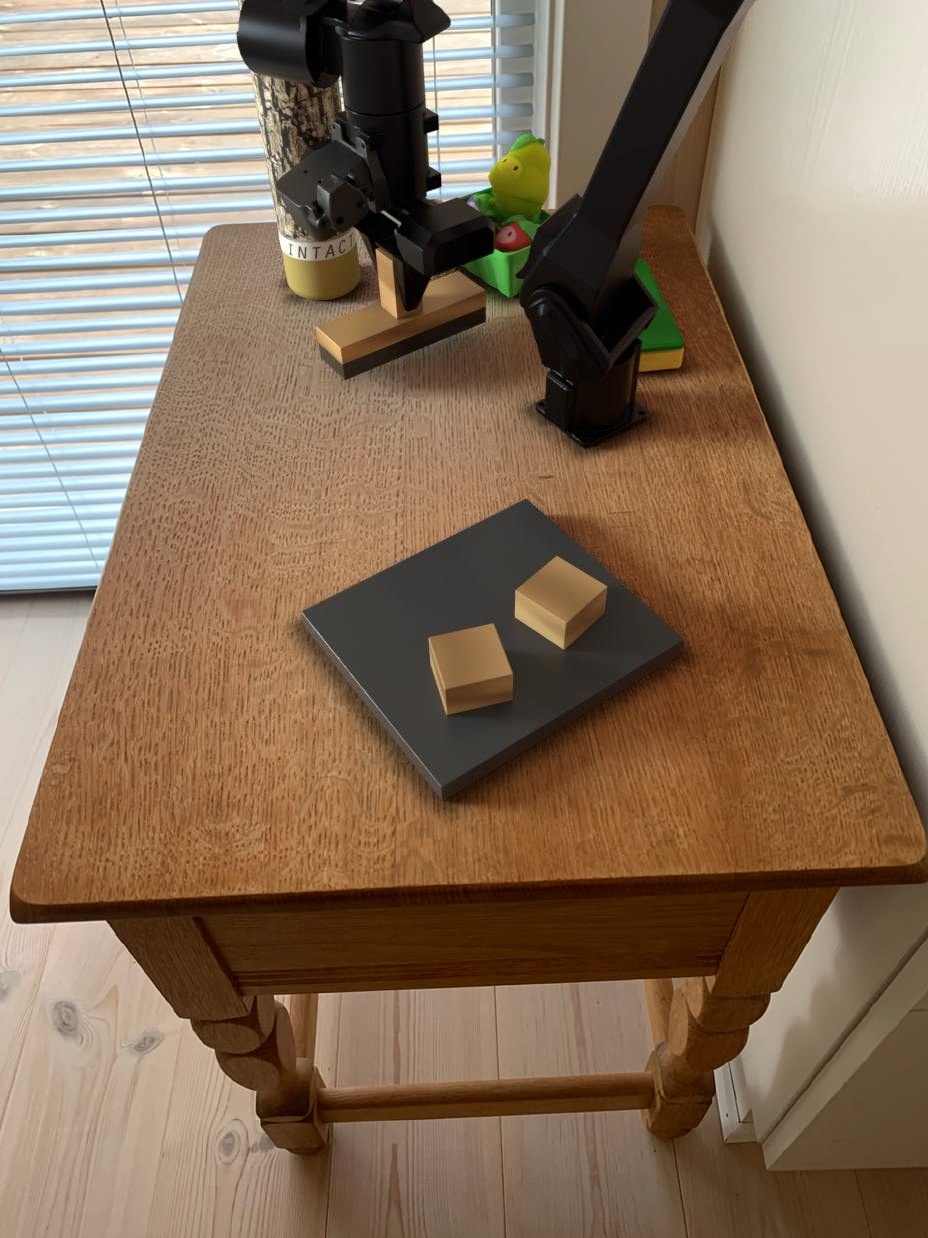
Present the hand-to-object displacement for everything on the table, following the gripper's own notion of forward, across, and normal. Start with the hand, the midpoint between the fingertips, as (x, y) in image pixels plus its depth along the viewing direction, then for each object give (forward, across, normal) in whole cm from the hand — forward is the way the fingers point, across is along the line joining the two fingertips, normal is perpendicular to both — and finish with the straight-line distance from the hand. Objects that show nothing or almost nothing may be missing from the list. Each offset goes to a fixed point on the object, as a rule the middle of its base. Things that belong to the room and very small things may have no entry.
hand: (401, 301), depth 80 cm
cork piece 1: (+3, +33, -16) cm, 37 cm away
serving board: (+5, +30, -13) cm, 33 cm away
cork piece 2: (+3, +32, -9) cm, 34 cm away
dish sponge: (+5, +8, +17) cm, 19 cm away
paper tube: (+5, -14, 0) cm, 15 cm away
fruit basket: (+5, -6, +15) cm, 17 cm away
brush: (+4, 0, 0) cm, 4 cm away
